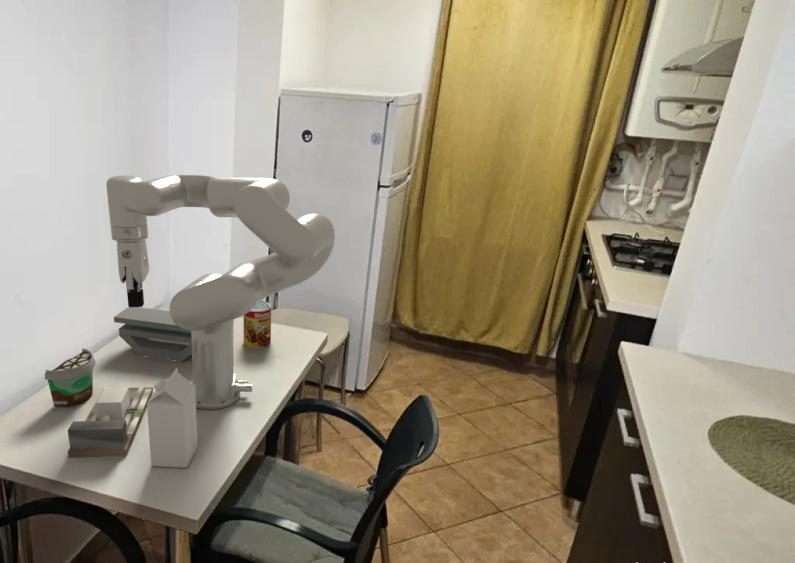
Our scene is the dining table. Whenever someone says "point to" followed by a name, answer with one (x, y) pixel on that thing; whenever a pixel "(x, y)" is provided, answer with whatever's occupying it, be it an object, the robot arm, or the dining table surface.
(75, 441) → the gauge board
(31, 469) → the dining table surface
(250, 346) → the canned food
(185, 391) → the milk carton
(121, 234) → the robot arm
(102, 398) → the gauge carriage
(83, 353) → the food container
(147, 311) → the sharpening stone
